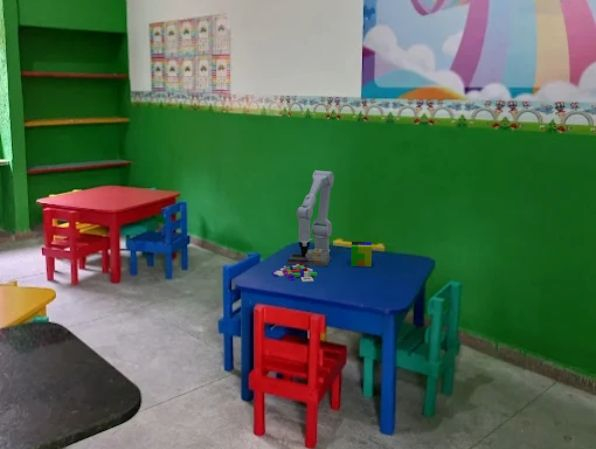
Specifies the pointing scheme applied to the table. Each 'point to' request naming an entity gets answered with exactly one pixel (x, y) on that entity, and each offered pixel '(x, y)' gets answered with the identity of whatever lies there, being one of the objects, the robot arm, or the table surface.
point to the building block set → (304, 273)
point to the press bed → (298, 259)
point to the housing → (316, 254)
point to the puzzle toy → (361, 253)
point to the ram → (309, 255)
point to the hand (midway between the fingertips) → (304, 256)
